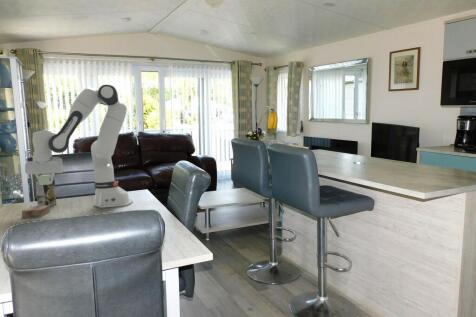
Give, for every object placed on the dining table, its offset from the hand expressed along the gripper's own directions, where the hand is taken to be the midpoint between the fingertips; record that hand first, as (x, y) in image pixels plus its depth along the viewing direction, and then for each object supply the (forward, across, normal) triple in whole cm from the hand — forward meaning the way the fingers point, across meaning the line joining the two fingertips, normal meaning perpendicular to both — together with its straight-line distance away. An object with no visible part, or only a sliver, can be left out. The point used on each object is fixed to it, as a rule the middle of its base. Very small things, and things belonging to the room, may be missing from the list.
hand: (45, 181), depth 211 cm
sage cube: (+2, 0, 0) cm, 2 cm away
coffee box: (+17, +5, -10) cm, 20 cm away
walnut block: (+17, +2, +10) cm, 20 cm away
